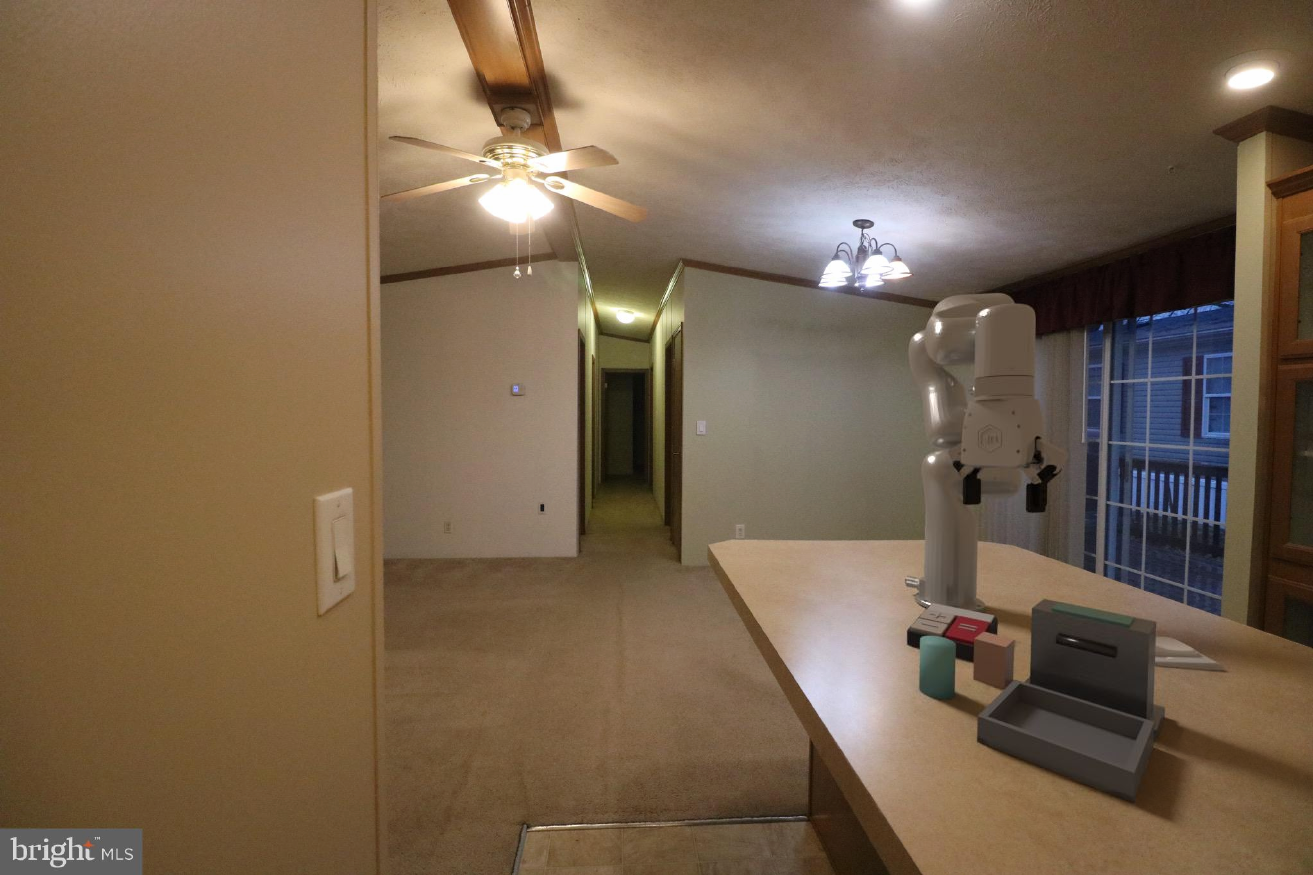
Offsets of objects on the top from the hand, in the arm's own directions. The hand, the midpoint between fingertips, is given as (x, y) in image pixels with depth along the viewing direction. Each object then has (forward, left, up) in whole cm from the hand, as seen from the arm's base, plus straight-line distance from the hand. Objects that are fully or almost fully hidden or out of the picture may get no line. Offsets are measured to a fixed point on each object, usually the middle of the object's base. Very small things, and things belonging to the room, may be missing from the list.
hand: (1002, 508), depth 81 cm
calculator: (-10, +9, -26) cm, 29 cm away
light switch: (+14, +28, -26) cm, 41 cm away
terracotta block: (0, -2, -25) cm, 25 cm away
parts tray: (+11, -14, -25) cm, 31 cm away
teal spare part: (-4, -12, -25) cm, 28 cm away
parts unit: (+11, -1, -25) cm, 27 cm away
